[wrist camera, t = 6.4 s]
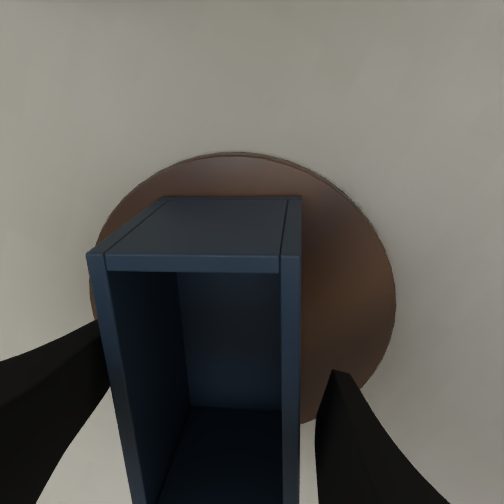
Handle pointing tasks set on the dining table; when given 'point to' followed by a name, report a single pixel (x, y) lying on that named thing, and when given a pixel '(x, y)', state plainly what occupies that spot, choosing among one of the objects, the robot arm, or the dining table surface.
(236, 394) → the bin
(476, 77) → the dining table surface
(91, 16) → the dining table surface
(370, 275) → the disc
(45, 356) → the robot arm
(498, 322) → the dining table surface
